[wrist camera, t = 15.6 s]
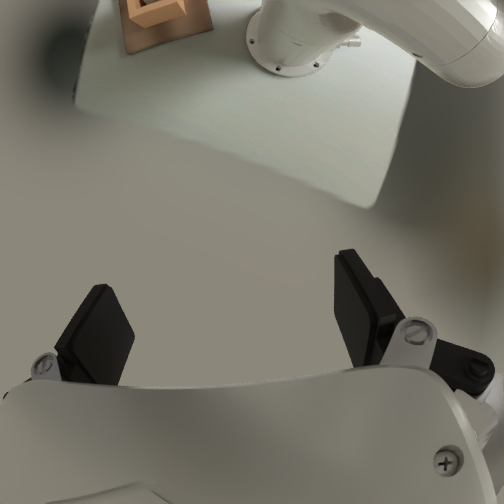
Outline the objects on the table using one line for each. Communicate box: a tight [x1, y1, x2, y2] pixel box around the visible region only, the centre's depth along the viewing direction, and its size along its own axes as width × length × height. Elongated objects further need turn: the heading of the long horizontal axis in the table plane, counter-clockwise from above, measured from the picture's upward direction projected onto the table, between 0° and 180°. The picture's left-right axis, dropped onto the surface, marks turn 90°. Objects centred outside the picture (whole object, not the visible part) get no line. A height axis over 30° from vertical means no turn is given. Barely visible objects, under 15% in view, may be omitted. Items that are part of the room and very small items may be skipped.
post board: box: [119, 0, 213, 55], centre depth 25 cm, size 13×13×6 cm
